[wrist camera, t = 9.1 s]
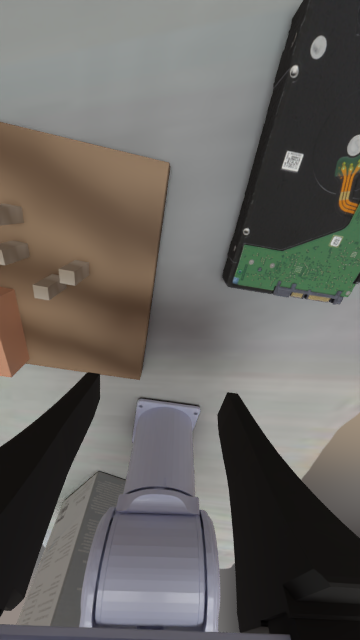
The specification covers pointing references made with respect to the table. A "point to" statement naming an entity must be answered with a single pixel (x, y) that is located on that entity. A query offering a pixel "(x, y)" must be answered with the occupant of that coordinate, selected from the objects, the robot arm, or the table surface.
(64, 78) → the table surface
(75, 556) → the hard drive box
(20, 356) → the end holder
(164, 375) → the table surface
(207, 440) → the table surface
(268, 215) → the disk drive
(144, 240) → the board
